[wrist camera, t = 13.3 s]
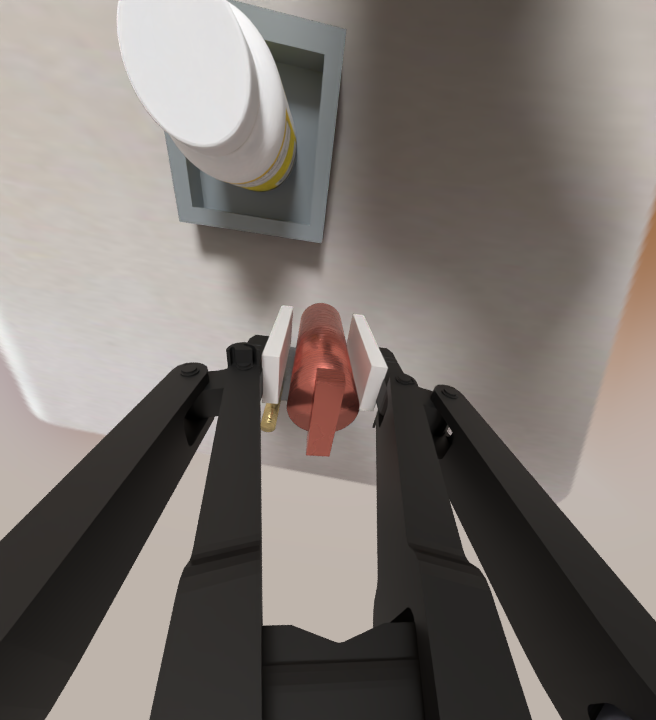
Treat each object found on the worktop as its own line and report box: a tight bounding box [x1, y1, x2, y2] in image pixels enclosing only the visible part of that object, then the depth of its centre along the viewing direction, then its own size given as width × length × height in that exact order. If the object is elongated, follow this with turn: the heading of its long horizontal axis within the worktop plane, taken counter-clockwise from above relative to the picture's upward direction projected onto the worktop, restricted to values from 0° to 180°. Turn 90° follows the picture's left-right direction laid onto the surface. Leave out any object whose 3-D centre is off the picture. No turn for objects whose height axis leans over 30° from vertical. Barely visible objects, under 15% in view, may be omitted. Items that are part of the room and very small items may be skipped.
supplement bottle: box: [117, 0, 297, 192], centre depth 11 cm, size 5×5×10 cm
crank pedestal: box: [261, 347, 296, 432], centre depth 24 cm, size 7×8×6 cm
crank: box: [287, 303, 360, 456], centre depth 16 cm, size 13×4×11 cm, turn 172°
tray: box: [164, 0, 346, 243], centre depth 15 cm, size 10×10×2 cm
